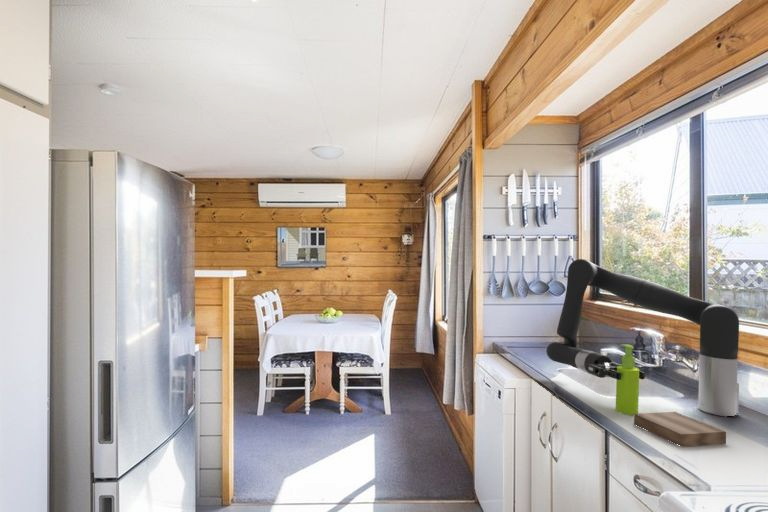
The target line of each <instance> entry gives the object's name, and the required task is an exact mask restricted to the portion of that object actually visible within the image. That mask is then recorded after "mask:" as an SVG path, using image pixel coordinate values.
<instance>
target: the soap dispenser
mask: <svg viewBox="0 0 768 512" xmlns="http://www.w3.org/2000/svg"><path fill="white" fill-rule="evenodd" d="M620 346H621V347H624V348H625V349H624V350H625V351H624V352H625V353H624V354H623V355H622V356H621V364H622V366H617V372H620V373H621V380H617V379H615V380H616V384H615V385H616V386H615V411H616V410H617V411H616V412H618V411H619V412H618V413H620V412H621V413H620V414H623V413H624V414H623V415H629V416H634V414H639V400H640V399H639V396H640V395H639V394H640V393H639V392H640V391H639V390H640V379H639V371H640V368H639V369H637V368H638V367H637V368H635V367H636V366H635V365H636V357H635V356H634V355H633V350H634V349H635V347H634V346H633V345H632V344H627V343H621V344H620Z"/></svg>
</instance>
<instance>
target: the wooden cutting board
mask: <svg viewBox="0 0 768 512" xmlns="http://www.w3.org/2000/svg"><path fill="white" fill-rule="evenodd" d="M633 425H634V426H636V425H637V426H636V427H638V426H639V427H638V428H640V427H641V428H640V429H642V428H644V429H646V430H648V431H647V432H649V433H651V434H653V435H655V436H656V437H659V436H660V437H659V438H661V437H662V439H663V438H664V440H666V441H668V440H669V441H668V442H670V441H671V442H670V443H672V442H673V443H672V444H674V443H675V444H674V445H676V444H678V445H680V446H686V447H696V446H698V445H699V447H700V446H712V445H725V444H727V431H725V430H723V429H722V428H721V429H720V428H718V427H717V426H716V427H715V426H713V425H711V424H708V423H705V422H702V421H701V420H700V421H699V420H697V419H694V418H692V417H689V416H687V415H684V414H682V413H679V412H676V411H668V412H666V411H665V412H664V411H662V412H645V413H644V412H642V413H641V412H640V413H639V412H638V414H634V415H633ZM644 429H643V430H644ZM646 430H645V431H646ZM678 445H677V446H678ZM680 446H679V447H680Z"/></svg>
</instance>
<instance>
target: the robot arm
mask: <svg viewBox="0 0 768 512" xmlns="http://www.w3.org/2000/svg"><path fill="white" fill-rule="evenodd" d="M566 279H567V280H566V290H565V297H564V300H563V301H564V302H563V304H562V305H563V306H562V310H561V312H560V316H559V317H560V318H559V320H558V324H557V328H556V329H557V330H556V333H557V335H558V336H559V337H561V338H562V339H563V342H564V343H563V342H557V341H556V342H555V341H553V342H551V343H549V344H548V345H547V347H546V351H545V352H546V355H547V357H548V358H549V359H550V360H551V361H553V362H557V363H559V364H564V365H568V366H571V367H573V368H576V369H577V370H579V371H580V370H581V371H582V372H584V373H586V374H589V375H592V376H595V377H597V378H601V379H604V378H612V379H615V380H621V373H620V372H617V366H622V363H617V362H615V361H612V360H611V358H610V357H609V356H608V355H605V354H602V353H600V352H595V351H592V350H585V349H582V348H580V347H578V336H577V335H578V332H579V328H580V324H581V321H582V314H583V313H582V310H583V301H584V296H585V295H586V294H585V293H586V290H587V288H588V286H589V287H592V288H596V289H599V290H603V291H606V292H608V293H610V294H613V295H615V296H617V297H618V298H620V299H622V300H624V301H626V302H629V303H631V304H634V305H636V306H638V307H642V308H645V309H646V310H647V309H648V310H651V311H654V312H659V313H662V314H666V315H672V316H676V317H679V318H682V319H684V320H687V321H690V322H692V323H693V324H694V323H695V324H697V325H699V361H698V362H699V364H698V365H699V368H698V370H699V371H698V400H697V401H698V402H697V403H698V404H697V408H698V410H700V411H703V412H704V413H708V414H711V415H715V416H721V417H727V416H734V415H736V416H737V414H736V413H738V414H739V400H740V399H739V396H740V395H739V393H740V384H739V383H738V358H739V357H738V356H739V339H740V337H739V335H740V320H739V319H740V318H739V317H738V315H737V313H736V312H735V311H734V309H732V308H731V307H729V306H727V305H724V304H720V303H719V304H718V303H715V302H714V303H713V302H710V301H705V300H701V299H698V298H695V297H691V296H688V295H685V294H683V293H682V292H679V291H676V290H674V289H672V288H670V287H668V286H664V285H662V284H659V283H657V282H654V281H651V280H647V279H643V278H641V277H637V276H634V275H628V274H624V273H618V272H615V271H611V270H608V269H606V268H604V267H601V266H599V265H597V264H595V263H593V262H592V261H590V260H587V259H584V258H583V259H582V258H579V259H575V260H573V261H572V262H571V263H570V264H569V266H568V269H567V278H566ZM635 368H637V369H639V380H645V379H646V373H645V372H644V371H642V370H640V368H639V367H637V366H635ZM734 417H735V416H734Z"/></svg>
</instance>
